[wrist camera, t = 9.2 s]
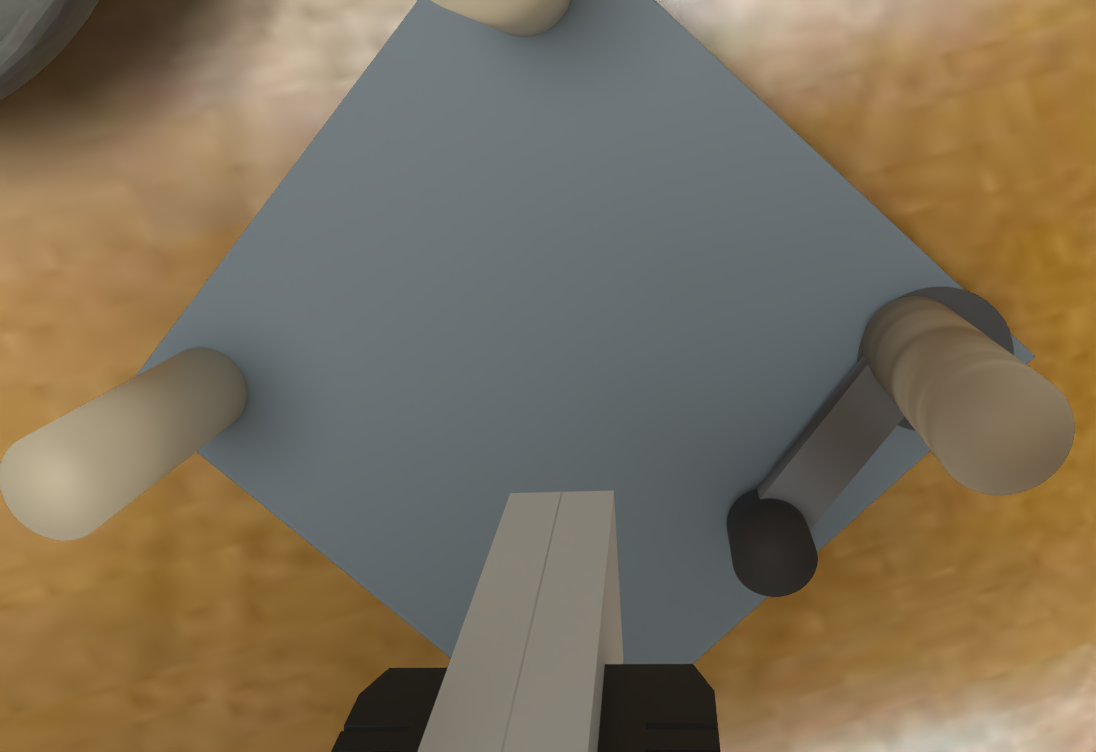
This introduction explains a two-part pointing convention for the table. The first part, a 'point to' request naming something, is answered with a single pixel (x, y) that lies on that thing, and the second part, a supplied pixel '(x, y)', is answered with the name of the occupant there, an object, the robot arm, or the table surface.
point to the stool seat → (518, 321)
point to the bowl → (36, 36)
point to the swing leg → (873, 413)
